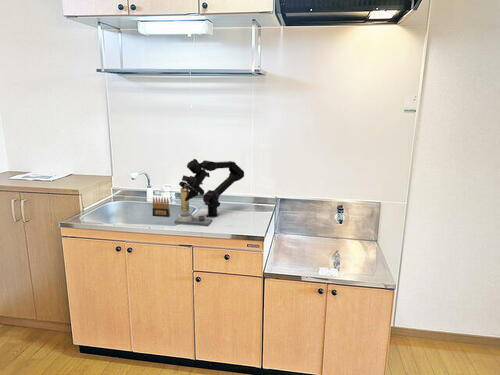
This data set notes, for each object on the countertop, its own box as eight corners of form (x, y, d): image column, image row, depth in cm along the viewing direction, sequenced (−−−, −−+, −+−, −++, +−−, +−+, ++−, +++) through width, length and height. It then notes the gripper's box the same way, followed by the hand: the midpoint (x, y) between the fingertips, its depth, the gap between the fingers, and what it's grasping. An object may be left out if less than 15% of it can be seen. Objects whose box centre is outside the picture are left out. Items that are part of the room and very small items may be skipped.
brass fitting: (189, 209, 217) (189, 187, 214) (188, 211, 212) (188, 189, 209) (181, 209, 217) (181, 187, 214) (180, 211, 212) (179, 189, 209)
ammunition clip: (170, 216, 226) (169, 197, 224) (169, 217, 225) (168, 198, 222) (153, 215, 228) (152, 196, 226) (152, 216, 226) (151, 197, 224)
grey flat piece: (179, 218, 221) (179, 212, 221) (212, 221, 218) (212, 214, 217) (174, 223, 213) (174, 216, 212) (208, 226, 210) (208, 219, 209)
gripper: (181, 167, 219) (165, 188, 214) (199, 172, 205) (183, 195, 200) (192, 179, 226) (177, 199, 221) (211, 184, 212) (195, 206, 207)
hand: (183, 200), depth 212 cm, fingers closed on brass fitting, 4 cm apart
